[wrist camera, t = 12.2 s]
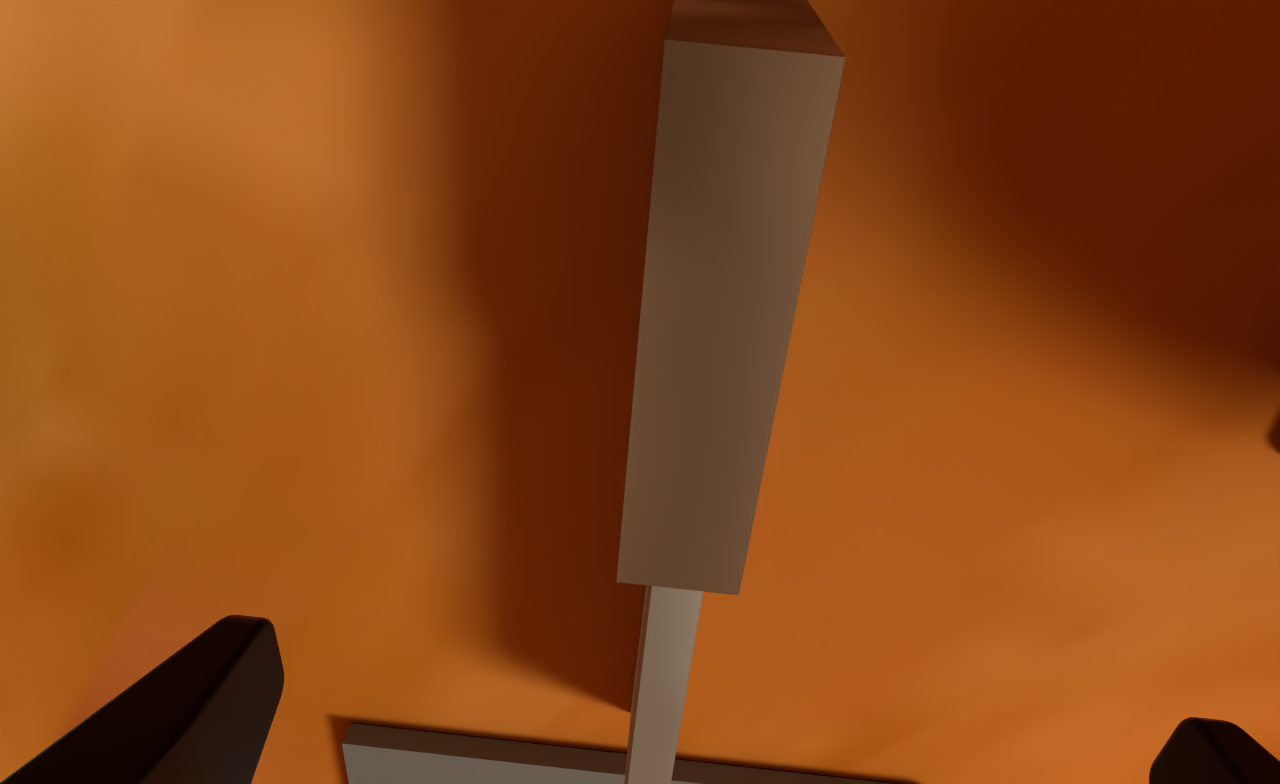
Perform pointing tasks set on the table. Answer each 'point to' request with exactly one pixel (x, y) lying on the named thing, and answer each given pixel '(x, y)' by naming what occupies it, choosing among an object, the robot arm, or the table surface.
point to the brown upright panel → (715, 319)
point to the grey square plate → (519, 762)
